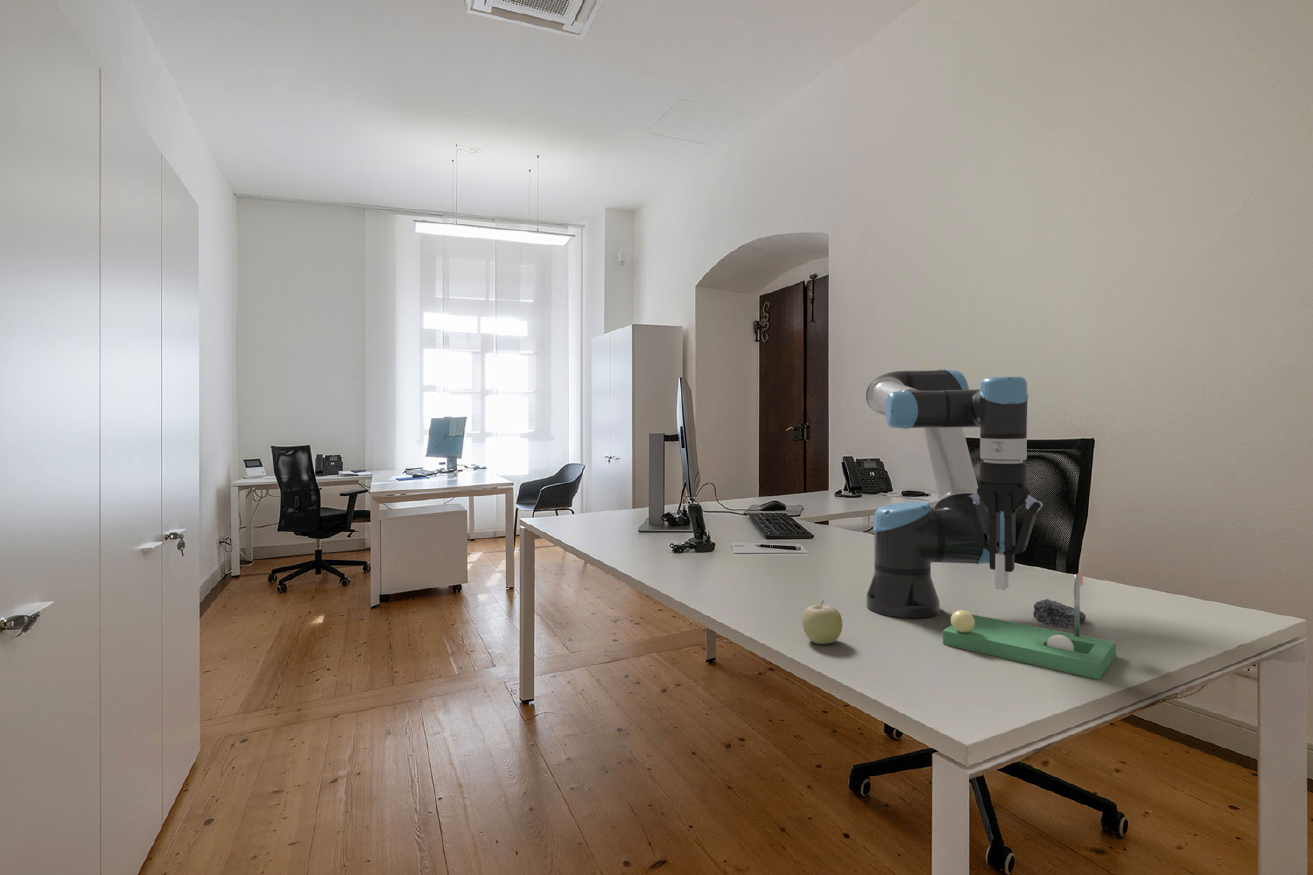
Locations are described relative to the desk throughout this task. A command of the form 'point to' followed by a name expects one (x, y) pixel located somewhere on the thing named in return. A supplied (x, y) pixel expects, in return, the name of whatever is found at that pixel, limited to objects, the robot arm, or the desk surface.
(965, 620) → the ball
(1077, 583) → the pin
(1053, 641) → the ball
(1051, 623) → the rock
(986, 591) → the desk surface
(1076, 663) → the green board with hole
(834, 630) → the fruit
